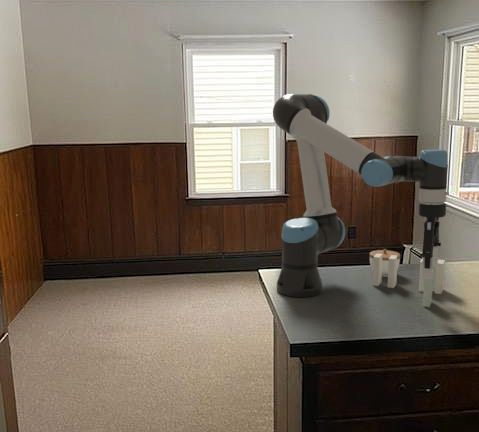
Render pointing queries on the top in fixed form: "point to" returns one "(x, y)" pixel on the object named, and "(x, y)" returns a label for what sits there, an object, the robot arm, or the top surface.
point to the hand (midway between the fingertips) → (430, 272)
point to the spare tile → (427, 292)
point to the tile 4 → (421, 281)
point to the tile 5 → (439, 277)
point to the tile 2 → (392, 271)
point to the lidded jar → (384, 260)
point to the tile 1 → (377, 269)
